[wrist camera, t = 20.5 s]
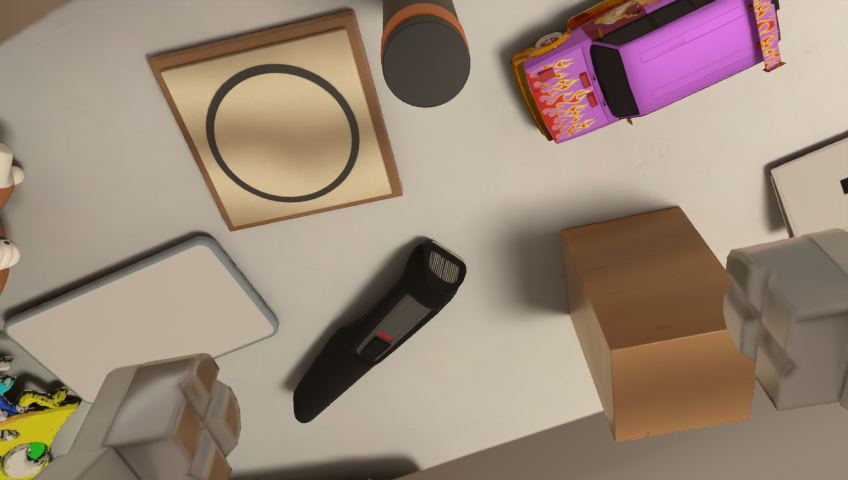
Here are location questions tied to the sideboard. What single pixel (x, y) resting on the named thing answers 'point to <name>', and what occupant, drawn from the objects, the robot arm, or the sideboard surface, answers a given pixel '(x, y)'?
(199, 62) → the ringed wooden coaster
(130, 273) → the smartphone
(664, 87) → the toy car
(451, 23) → the marker
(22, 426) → the toy
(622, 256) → the brown block
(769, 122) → the sideboard surface
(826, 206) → the laptop
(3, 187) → the figurine
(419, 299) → the electric trimmer
